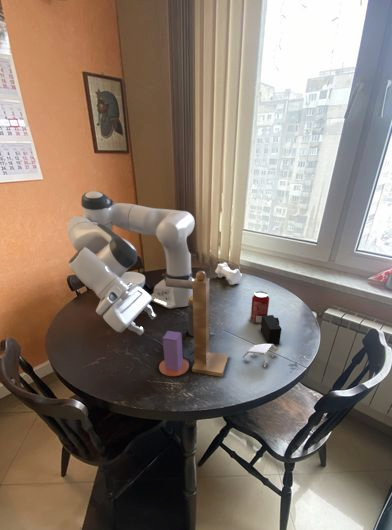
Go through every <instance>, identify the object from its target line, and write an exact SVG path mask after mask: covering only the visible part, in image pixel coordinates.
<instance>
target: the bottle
mask: <svg viewBox="0 0 392 530" xmlns="http://www.w3.org/2000/svg"><path fill="white" fill-rule="evenodd" d="M188 299H189V302H188V305H189V306H187V309H186V310H187V332H188V335H190V336H191V337H194V324H193V295H192V296H190V297H189V298H188Z"/></svg>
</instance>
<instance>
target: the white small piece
mask: <svg viewBox="0 0 392 530" xmlns="http://www.w3.org/2000/svg"><path fill="white" fill-rule="evenodd" d="M271 348H273V349H275V350H273V351H272V352H271V353H270V356H271V358H274V357H275V356H274V355H273V354H274V353H275V352H277V351H278V350H279V349H278V348H277V346H276V345H274V344H267V343H259V344H254V345H253V346H252V347H251V348H250V349H248V350H247V351H246V352H245V354H244V355H243V356H242V358H243V359H245V363H247V362H249V361H250V359H248V358H246V357H247V356H248V355H249V354H253V355H252V357H253V358H255V356H256V354H259V355H260V354H261V355H264V360H265V361H263V367H264V368H267V364H268V363H269V360H268V356H267V353H268V351H269V350H270V349H271Z"/></svg>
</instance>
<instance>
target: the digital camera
mask: <svg viewBox="0 0 392 530" xmlns="http://www.w3.org/2000/svg"><path fill="white" fill-rule="evenodd" d="M260 333H261V334H262V337H263V339H264V341H265V342H266V344H274V346H277V345H278V346H279V345H280V342H281V336H282V327H281V325H280V319H279V317H275V316H274V314H267V315H264V316H262V321H261V323H260Z"/></svg>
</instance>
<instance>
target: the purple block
mask: <svg viewBox="0 0 392 530" xmlns="http://www.w3.org/2000/svg"><path fill="white" fill-rule="evenodd" d="M182 337H183V336H182V332H179V331H172V330H167V331H166V332H165V334H164V335H163V337H162V348H163V358H164V359H163V360H165V369H169V370H175V371H179V369H180V367H181V365H182V363H183V359H184V358H183V357H184V356H183V340H182V339H183V338H182Z"/></svg>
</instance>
